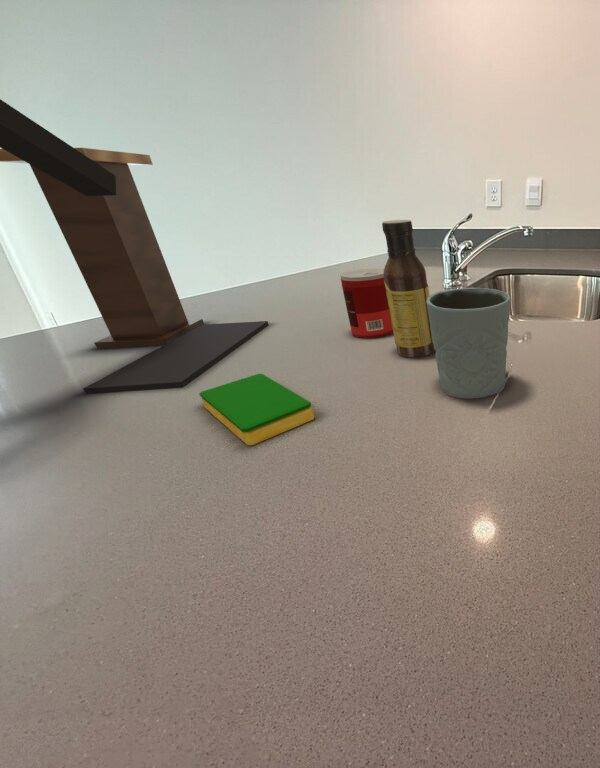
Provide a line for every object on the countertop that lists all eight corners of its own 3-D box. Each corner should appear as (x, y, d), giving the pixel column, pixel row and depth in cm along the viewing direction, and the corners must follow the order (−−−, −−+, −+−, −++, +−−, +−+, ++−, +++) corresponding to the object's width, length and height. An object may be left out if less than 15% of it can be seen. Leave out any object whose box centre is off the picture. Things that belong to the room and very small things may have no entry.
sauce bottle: (413, 344, 69) (396, 218, 60) (444, 349, 67) (430, 218, 58) (387, 357, 64) (365, 221, 55) (419, 363, 62) (400, 222, 53)
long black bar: (-126, 47, 35) (-125, 15, 36) (-179, 47, 35) (-178, 15, 35) (116, 195, 59) (116, 175, 59) (86, 196, 59) (86, 176, 59)
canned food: (405, 329, 77) (396, 269, 72) (376, 342, 70) (364, 278, 65) (373, 324, 80) (363, 267, 75) (343, 337, 73) (329, 275, 68)
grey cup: (470, 365, 60) (464, 284, 55) (527, 381, 55) (527, 293, 50) (419, 391, 53) (407, 300, 48) (479, 412, 48) (473, 312, 42)
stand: (166, 348, 70) (81, 147, 57) (89, 353, 69) (-15, 148, 55) (210, 324, 82) (149, 154, 69) (146, 327, 81) (72, 156, 68)
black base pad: (184, 389, 55) (180, 381, 54) (87, 396, 54) (82, 388, 53) (269, 326, 80) (267, 320, 79) (204, 330, 79) (202, 324, 78)
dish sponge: (250, 449, 42) (242, 429, 41) (204, 409, 50) (197, 391, 49) (316, 420, 47) (311, 402, 46) (266, 388, 55) (260, 372, 54)
